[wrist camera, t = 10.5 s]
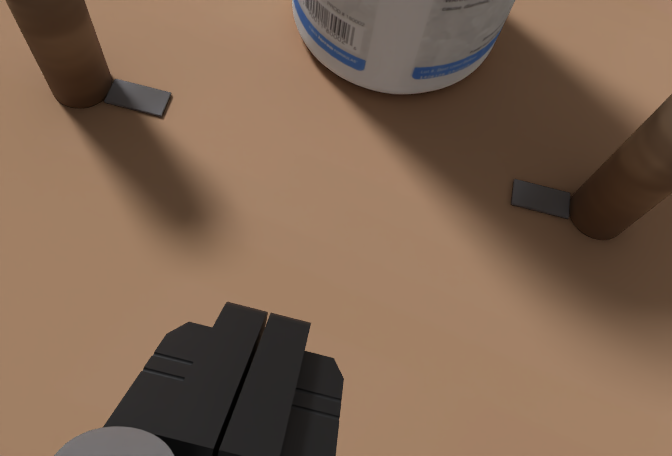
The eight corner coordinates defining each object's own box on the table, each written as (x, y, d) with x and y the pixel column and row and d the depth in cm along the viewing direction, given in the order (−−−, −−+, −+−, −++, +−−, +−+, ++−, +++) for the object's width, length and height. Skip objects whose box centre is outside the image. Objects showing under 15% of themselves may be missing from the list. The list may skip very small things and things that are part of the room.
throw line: (41, 99, 24) (-52, -72, 17) (65, 55, 25) (-13, -124, 18) (624, 245, 24) (774, 135, 17) (624, 195, 26) (766, 72, 18)
